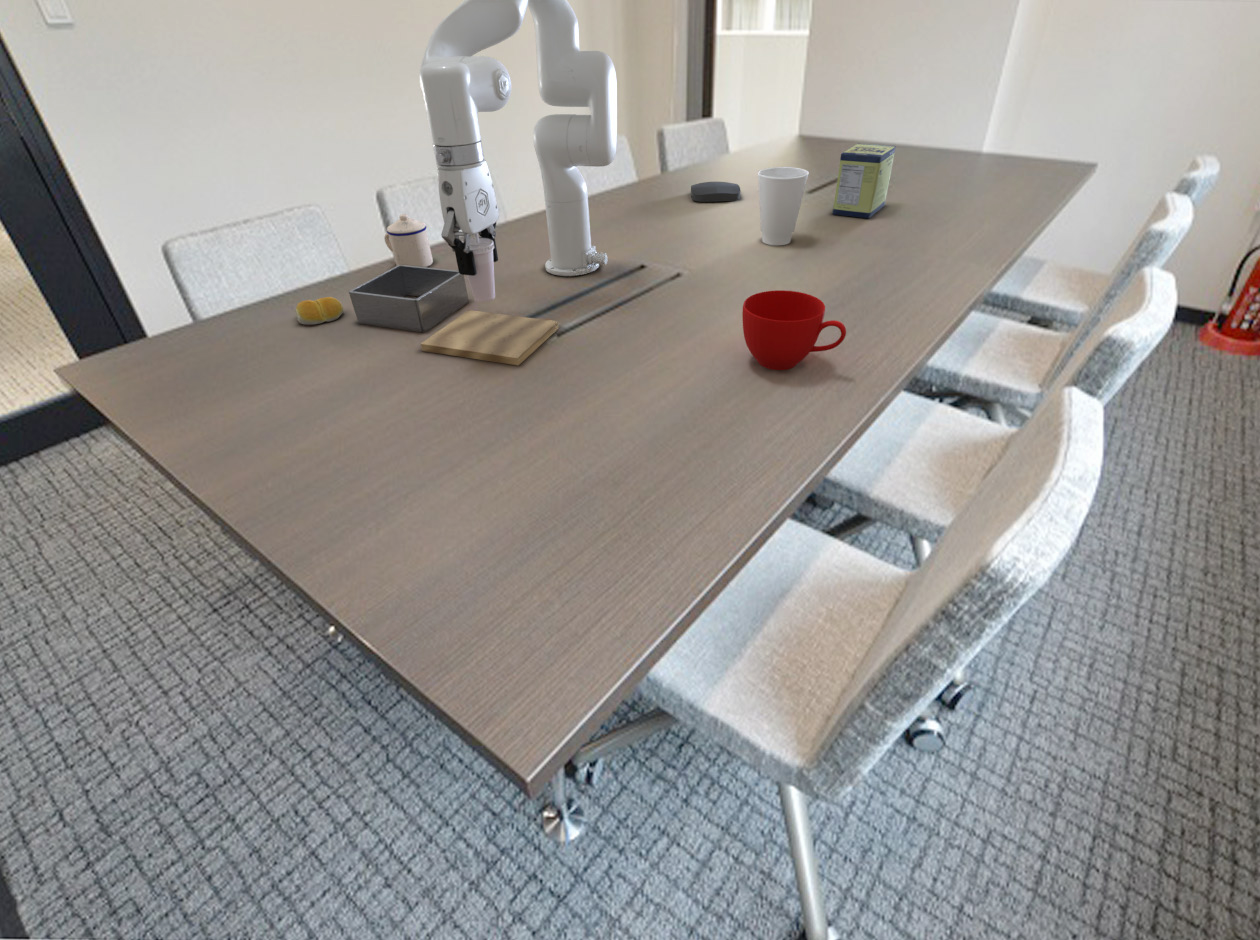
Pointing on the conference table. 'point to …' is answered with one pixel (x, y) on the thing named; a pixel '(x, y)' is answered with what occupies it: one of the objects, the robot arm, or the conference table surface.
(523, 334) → the maple board
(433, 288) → the box
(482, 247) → the smoothie
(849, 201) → the protein box
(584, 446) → the conference table surface
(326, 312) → the bread roll
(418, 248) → the teacup with lid
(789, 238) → the cup
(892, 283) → the conference table surface
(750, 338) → the ceramic cup
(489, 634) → the conference table surface
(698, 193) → the media streaming box
